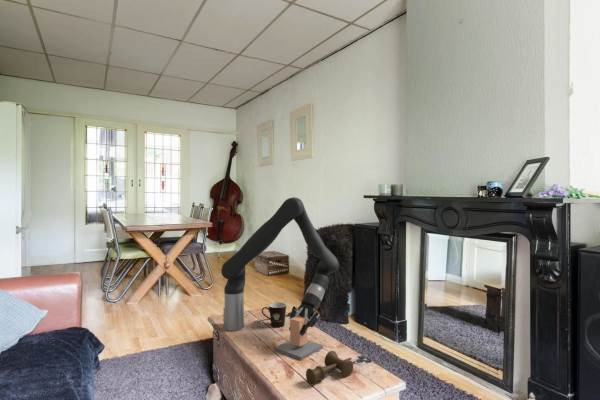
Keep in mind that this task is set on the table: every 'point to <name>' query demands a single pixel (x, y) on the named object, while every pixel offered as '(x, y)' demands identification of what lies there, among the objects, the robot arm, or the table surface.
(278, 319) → the coffee mug
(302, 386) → the table surface
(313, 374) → the kendama
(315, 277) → the robot arm
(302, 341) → the terracotta block
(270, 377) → the table surface
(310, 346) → the slate tile
